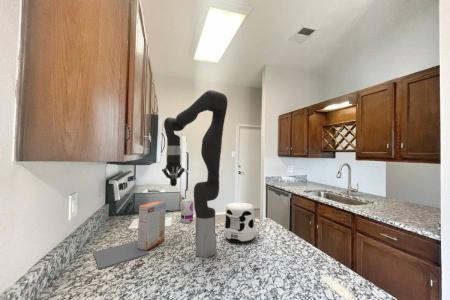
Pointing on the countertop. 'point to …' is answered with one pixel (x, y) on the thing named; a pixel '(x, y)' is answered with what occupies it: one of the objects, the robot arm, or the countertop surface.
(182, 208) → the supplement can
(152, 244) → the cracker box
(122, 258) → the mat
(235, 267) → the countertop surface
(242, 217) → the milk container
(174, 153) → the robot arm
